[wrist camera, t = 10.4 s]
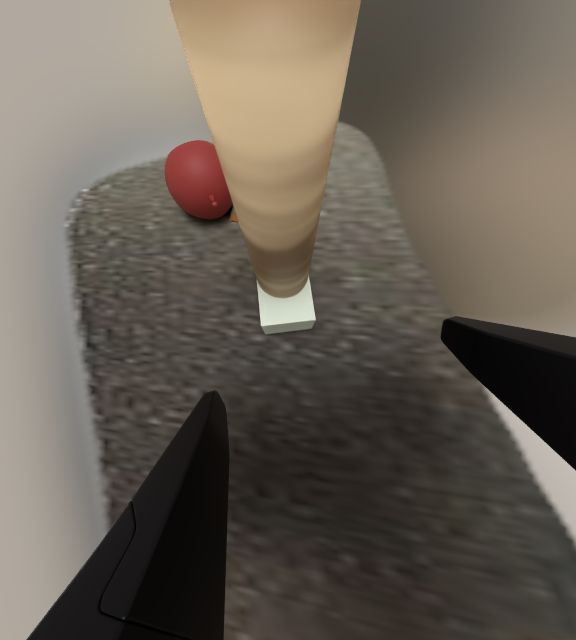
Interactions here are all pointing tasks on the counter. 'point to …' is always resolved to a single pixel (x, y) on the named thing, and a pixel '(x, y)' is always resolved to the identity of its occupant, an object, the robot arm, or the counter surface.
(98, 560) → the robot arm
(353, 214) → the counter surface
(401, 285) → the counter surface
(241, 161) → the oak post
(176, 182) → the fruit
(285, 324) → the white block
